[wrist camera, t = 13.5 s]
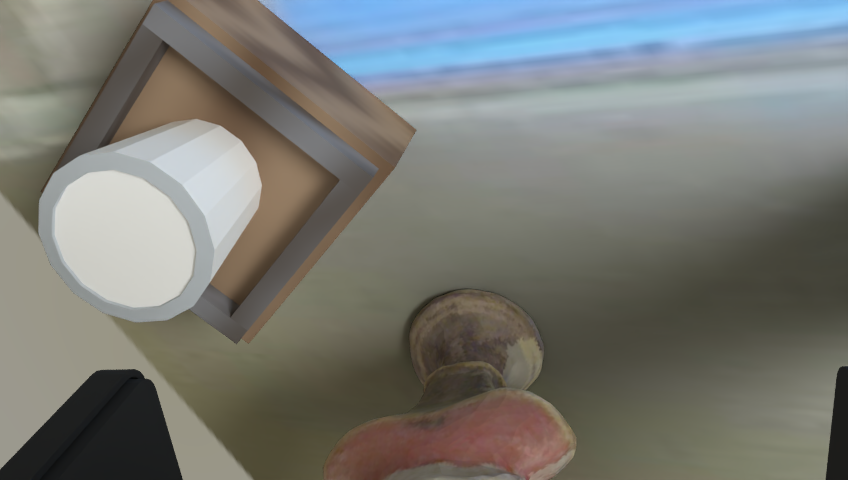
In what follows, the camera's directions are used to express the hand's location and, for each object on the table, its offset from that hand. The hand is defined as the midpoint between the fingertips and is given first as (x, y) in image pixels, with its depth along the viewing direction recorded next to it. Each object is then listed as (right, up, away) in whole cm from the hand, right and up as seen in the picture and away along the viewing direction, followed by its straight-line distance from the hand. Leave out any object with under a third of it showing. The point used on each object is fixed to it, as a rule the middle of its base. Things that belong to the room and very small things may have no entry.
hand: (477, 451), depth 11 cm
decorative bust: (+2, -4, +33) cm, 33 cm away
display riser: (-9, +8, +29) cm, 32 cm away
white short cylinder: (-11, +6, +24) cm, 27 cm away
